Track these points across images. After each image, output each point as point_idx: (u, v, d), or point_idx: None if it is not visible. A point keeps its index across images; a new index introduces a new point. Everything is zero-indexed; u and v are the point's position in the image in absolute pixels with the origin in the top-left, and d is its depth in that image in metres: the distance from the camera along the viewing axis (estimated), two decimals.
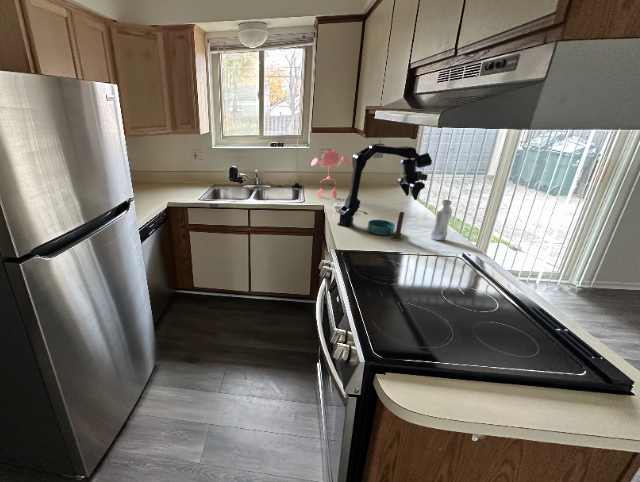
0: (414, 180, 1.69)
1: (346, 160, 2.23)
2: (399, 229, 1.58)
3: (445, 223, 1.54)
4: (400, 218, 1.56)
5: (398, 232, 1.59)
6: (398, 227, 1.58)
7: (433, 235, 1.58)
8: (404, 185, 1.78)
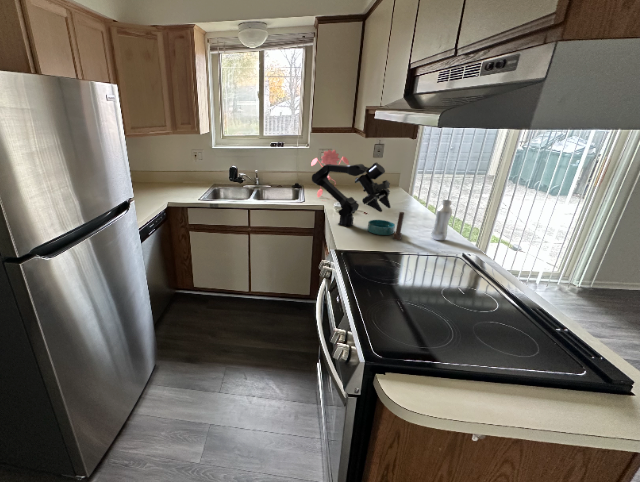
0: (373, 193, 1.62)
1: (346, 160, 2.23)
2: (399, 229, 1.58)
3: (445, 223, 1.54)
4: (400, 218, 1.56)
5: (398, 232, 1.59)
6: (398, 227, 1.58)
7: (433, 235, 1.58)
8: (381, 199, 1.67)
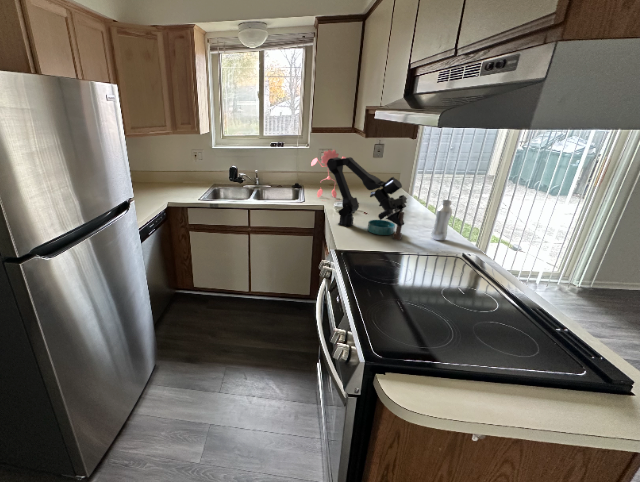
0: (389, 208, 1.58)
1: None
2: (399, 229, 1.58)
3: (445, 223, 1.54)
4: (400, 218, 1.56)
5: (398, 232, 1.59)
6: (398, 227, 1.58)
7: (433, 235, 1.58)
8: None
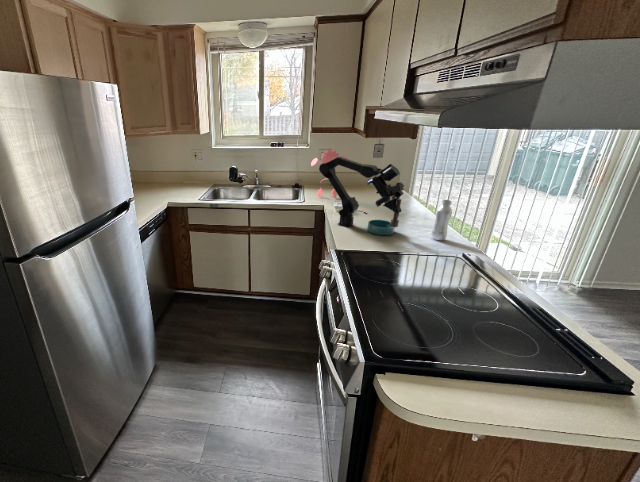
0: (386, 195, 1.58)
1: None
2: (396, 216, 1.59)
3: (445, 223, 1.54)
4: (397, 205, 1.57)
5: (395, 219, 1.60)
6: (395, 214, 1.59)
7: (433, 235, 1.58)
8: None
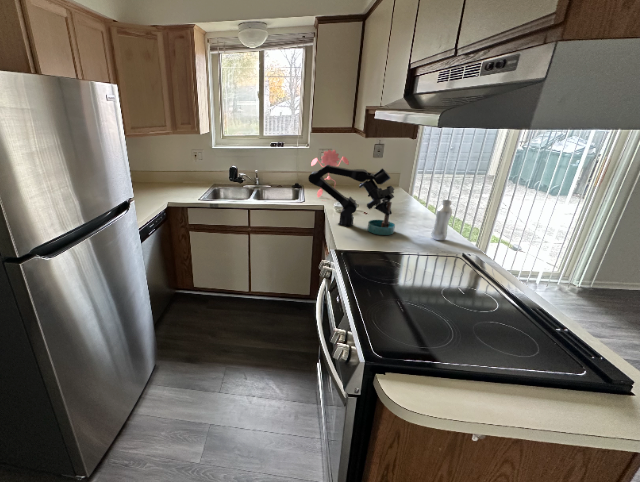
0: (377, 198, 1.65)
1: (346, 160, 2.23)
2: (387, 218, 1.66)
3: (445, 223, 1.54)
4: (387, 208, 1.64)
5: (386, 221, 1.67)
6: (386, 216, 1.66)
7: (433, 235, 1.58)
8: None
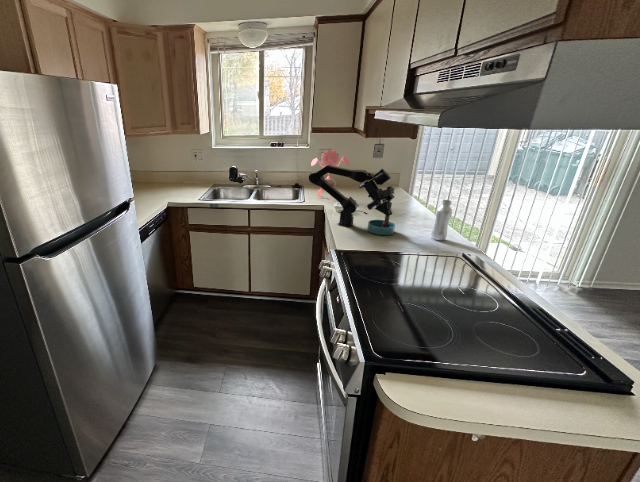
0: (377, 198, 1.65)
1: (346, 160, 2.23)
2: (387, 219, 1.65)
3: (445, 223, 1.54)
4: (388, 208, 1.63)
5: (386, 222, 1.66)
6: (386, 217, 1.65)
7: (433, 235, 1.58)
8: None
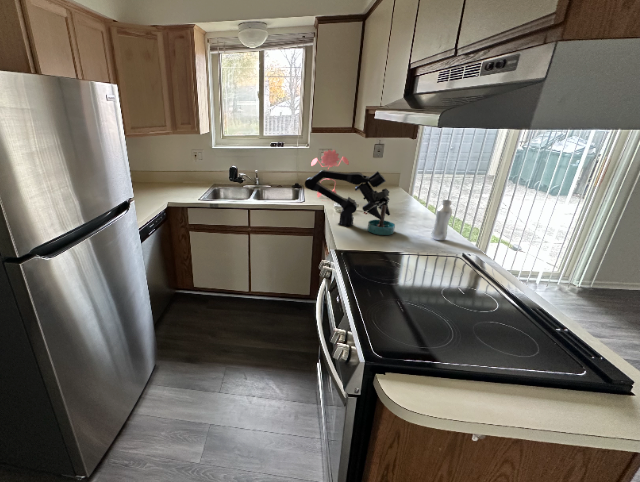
0: (373, 200, 1.67)
1: (346, 160, 2.23)
2: (382, 221, 1.68)
3: (445, 223, 1.54)
4: (382, 211, 1.66)
5: (381, 224, 1.68)
6: (381, 219, 1.68)
7: (433, 235, 1.58)
8: (381, 206, 1.72)
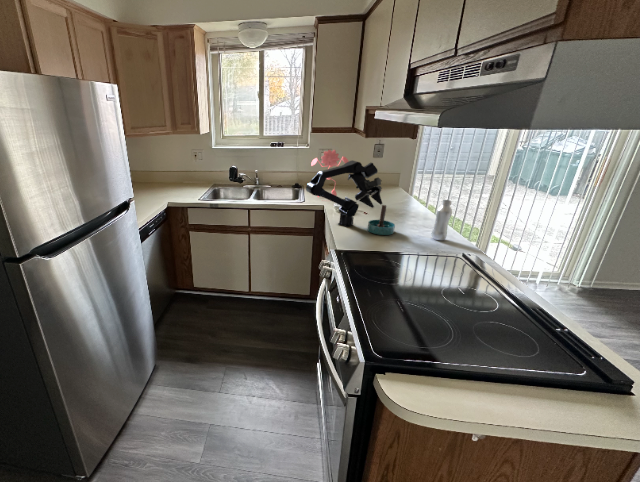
0: (365, 189, 1.68)
1: (346, 160, 2.23)
2: (382, 221, 1.68)
3: (445, 223, 1.54)
4: (382, 211, 1.66)
5: (381, 224, 1.68)
6: (381, 219, 1.68)
7: (433, 235, 1.58)
8: (373, 195, 1.74)
